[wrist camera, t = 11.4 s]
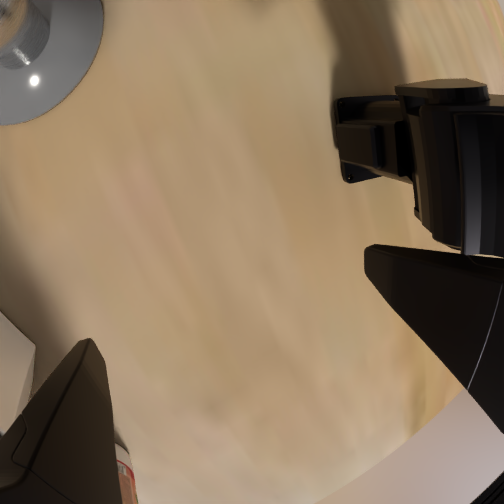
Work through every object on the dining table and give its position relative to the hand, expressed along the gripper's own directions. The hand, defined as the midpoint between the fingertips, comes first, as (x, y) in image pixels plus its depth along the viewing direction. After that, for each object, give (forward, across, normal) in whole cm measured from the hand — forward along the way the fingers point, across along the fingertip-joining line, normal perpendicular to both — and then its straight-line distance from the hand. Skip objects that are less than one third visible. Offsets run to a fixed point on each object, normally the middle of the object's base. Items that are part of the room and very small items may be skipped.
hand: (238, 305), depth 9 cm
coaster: (+12, +8, -14) cm, 20 cm away
